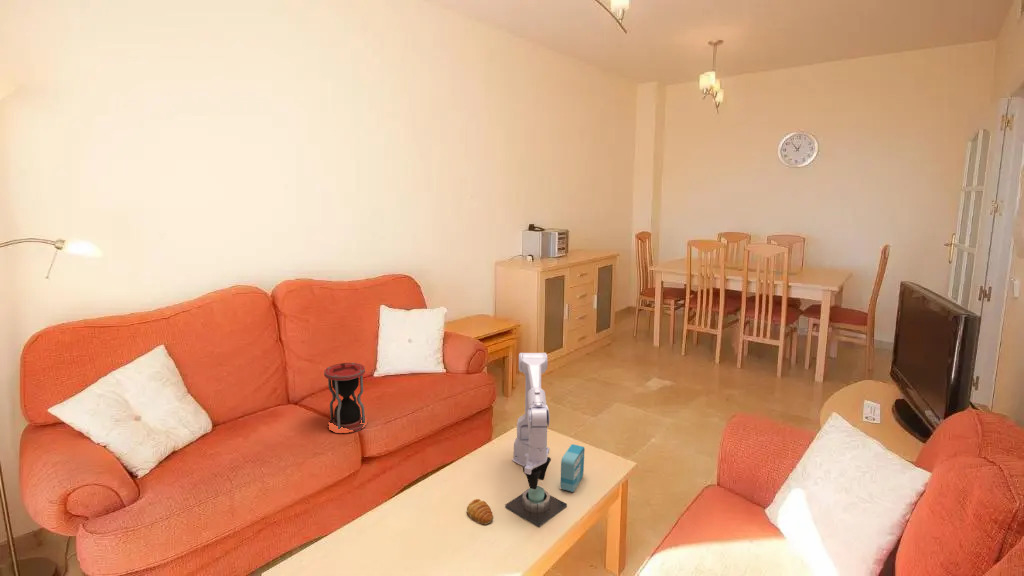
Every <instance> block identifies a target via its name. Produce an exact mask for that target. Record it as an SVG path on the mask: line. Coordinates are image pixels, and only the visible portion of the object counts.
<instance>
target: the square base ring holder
mask: <svg viewBox="0 0 1024 576" xmlns="http://www.w3.org/2000/svg"><path fill="white" fill-rule="evenodd" d="M528 495H529V488H528V489H526V490H525V491H523V493H521V494H520V495H518V496H517V497H515V498H513V499H512V500H510V501H509V502H508V503H506V504H505V509H507V510H509V511H510V512H512V513H514V514H516V515H517V516H519V517H521V518H522V519H524V520H526V521H527V522H530V523H531V524H533V526H536V527H538V528H541V527H542V526H543V525H544V524H546V523H547V522H548V521H550V520H551V519H552V518H554V517H555V516H556V515H557V514H559V513H561V512H562V511H563V510H564V509H566V508H567V507H568V504H567V503H566V502H564V501H562V500H560V499H558V498H557V497H554V496H552V495H550V493H549V492H548V490H546V489H544V501H543V502H538V503H537V502H531V501H530V500H528Z"/></svg>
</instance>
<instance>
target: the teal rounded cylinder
mask: <svg viewBox="0 0 1024 576" xmlns="http://www.w3.org/2000/svg"><path fill="white" fill-rule="evenodd" d="M528 489H529V495H528V500H530V501H531V502H537V503H538V502H543V501H544V490H545V489H544V488H543V487H542V486H539V485H537V488H536V489H532V488H530V487H529V488H528Z"/></svg>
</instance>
